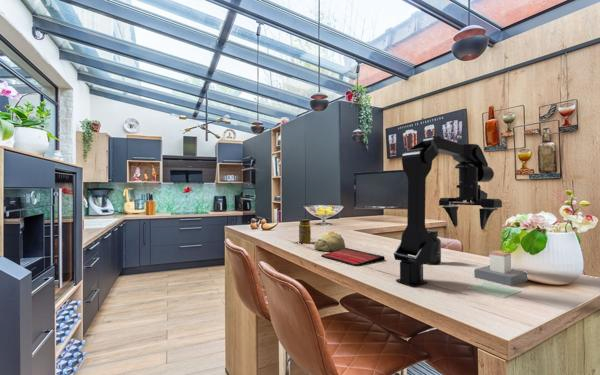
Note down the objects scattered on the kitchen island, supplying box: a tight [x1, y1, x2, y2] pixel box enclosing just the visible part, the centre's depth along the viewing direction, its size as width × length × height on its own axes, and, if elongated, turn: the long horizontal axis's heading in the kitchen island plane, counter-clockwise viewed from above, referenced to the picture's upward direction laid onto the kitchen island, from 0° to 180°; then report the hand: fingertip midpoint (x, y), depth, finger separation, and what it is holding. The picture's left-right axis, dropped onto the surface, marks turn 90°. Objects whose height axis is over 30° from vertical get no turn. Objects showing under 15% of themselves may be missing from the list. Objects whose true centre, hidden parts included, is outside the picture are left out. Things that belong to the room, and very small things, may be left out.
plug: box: [489, 249, 512, 273], centre depth 92 cm, size 4×4×8 cm
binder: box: [321, 247, 386, 267], centre depth 123 cm, size 16×2×21 cm
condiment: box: [293, 218, 314, 245], centre depth 159 cm, size 7×8×12 cm
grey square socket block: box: [473, 264, 529, 287], centre depth 92 cm, size 10×10×3 cm
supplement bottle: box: [427, 229, 442, 265], centre depth 114 cm, size 7×7×12 cm
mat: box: [467, 281, 522, 299], centre depth 82 cm, size 9×9×1 cm
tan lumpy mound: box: [313, 231, 347, 252], centre depth 141 cm, size 14×12×8 cm
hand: (468, 227), depth 104 cm, fingers open, 9 cm apart
